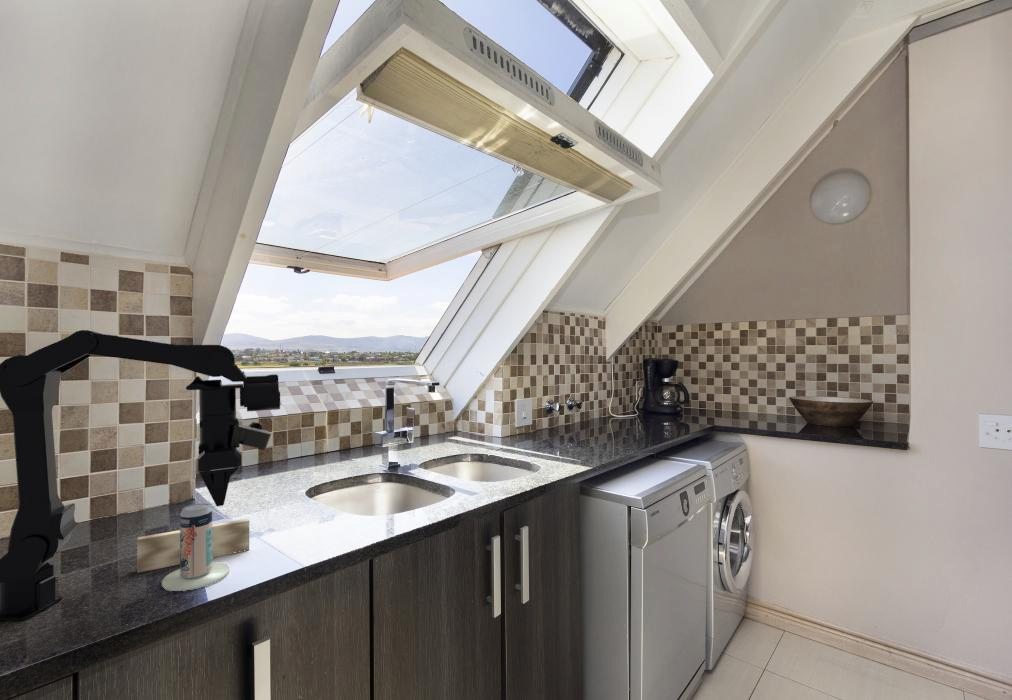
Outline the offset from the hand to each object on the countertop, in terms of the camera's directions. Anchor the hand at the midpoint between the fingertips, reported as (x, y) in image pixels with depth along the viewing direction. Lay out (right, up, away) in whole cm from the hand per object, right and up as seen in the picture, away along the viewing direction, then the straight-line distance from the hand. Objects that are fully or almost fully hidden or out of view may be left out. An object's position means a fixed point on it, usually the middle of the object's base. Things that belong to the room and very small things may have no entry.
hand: (219, 499), depth 86 cm
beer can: (-3, -13, -2) cm, 13 cm away
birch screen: (-8, -14, +6) cm, 17 cm away
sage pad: (-3, -13, -2) cm, 14 cm away
